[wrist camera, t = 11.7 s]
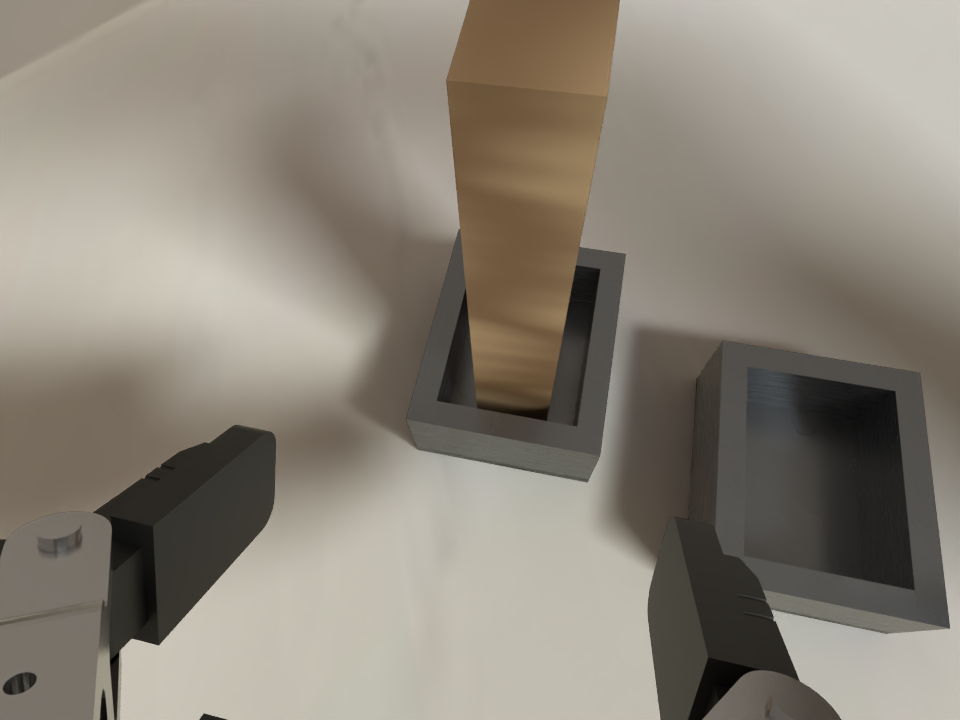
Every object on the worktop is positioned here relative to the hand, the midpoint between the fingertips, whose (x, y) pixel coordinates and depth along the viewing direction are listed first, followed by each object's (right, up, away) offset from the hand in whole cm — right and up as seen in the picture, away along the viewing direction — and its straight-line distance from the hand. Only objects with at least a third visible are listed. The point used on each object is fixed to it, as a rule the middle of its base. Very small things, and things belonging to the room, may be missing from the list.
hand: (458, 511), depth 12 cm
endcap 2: (+11, -2, +9) cm, 14 cm away
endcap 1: (+2, +3, +11) cm, 12 cm away
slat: (+2, +3, +11) cm, 11 cm away
